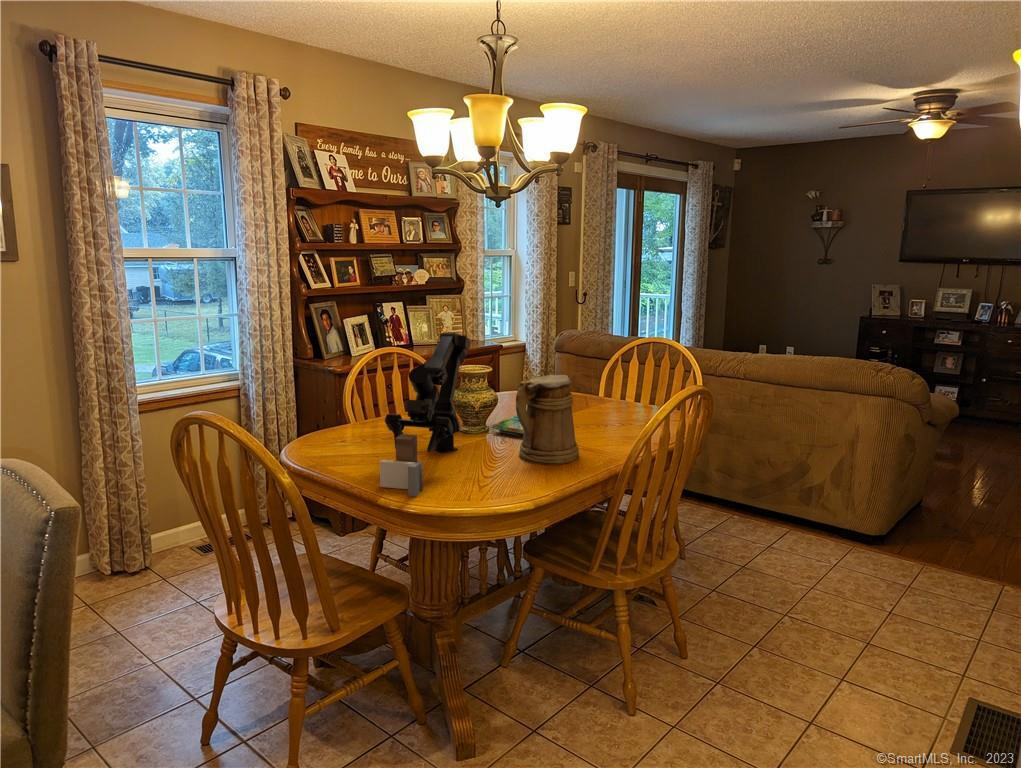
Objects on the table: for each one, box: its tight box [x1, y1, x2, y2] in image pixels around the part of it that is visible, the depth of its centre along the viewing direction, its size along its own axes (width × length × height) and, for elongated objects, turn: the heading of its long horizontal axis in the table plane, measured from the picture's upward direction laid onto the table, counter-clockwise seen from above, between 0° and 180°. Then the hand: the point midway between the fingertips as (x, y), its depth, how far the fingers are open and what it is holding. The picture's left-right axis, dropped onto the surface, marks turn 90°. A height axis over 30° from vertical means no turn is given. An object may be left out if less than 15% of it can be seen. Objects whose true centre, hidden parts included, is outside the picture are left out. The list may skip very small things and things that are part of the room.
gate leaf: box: [379, 459, 424, 491], centre depth 186 cm, size 12×2×7 cm, turn 78°
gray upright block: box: [407, 463, 421, 498], centre depth 181 cm, size 3×2×8 cm, turn 167°
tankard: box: [515, 374, 580, 466], centre depth 213 cm, size 18×24×25 cm
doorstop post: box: [395, 433, 418, 462], centre depth 190 cm, size 4×4×13 cm
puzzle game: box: [491, 414, 524, 437], centre depth 247 cm, size 12×5×20 cm
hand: (412, 450), depth 194 cm, fingers open, 9 cm apart
